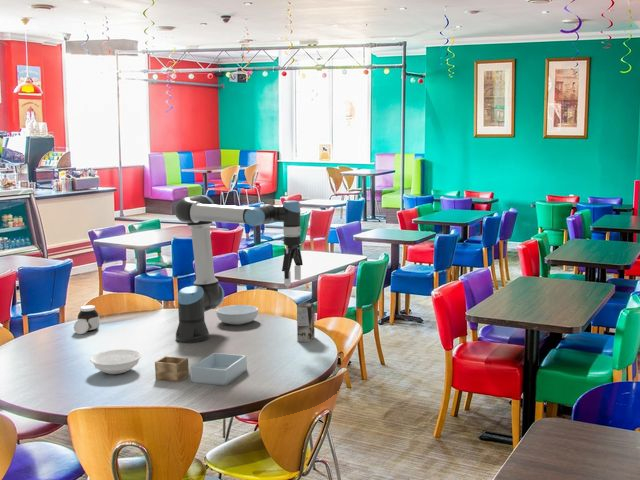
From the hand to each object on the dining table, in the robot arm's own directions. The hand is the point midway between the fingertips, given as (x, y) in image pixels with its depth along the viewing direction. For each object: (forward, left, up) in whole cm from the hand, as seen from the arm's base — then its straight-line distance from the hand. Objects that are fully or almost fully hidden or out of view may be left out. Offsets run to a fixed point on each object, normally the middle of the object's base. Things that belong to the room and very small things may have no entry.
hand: (292, 282), depth 341 cm
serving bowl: (-39, +23, -27) cm, 53 cm away
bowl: (-53, -61, -27) cm, 85 cm away
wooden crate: (-28, -61, -27) cm, 72 cm away
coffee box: (+4, +4, -27) cm, 28 cm away
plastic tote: (-11, -54, -27) cm, 61 cm away
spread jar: (-102, -12, -27) cm, 106 cm away
